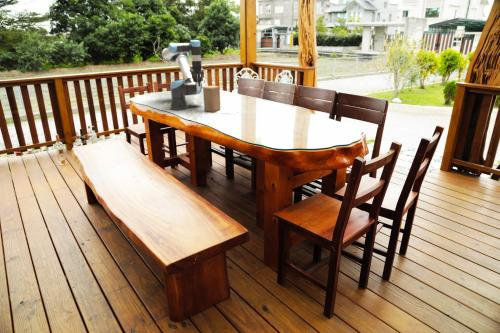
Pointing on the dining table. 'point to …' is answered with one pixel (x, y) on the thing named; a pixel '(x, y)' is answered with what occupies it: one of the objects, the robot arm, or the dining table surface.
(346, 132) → the dining table surface
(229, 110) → the mat
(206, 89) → the wooden block
